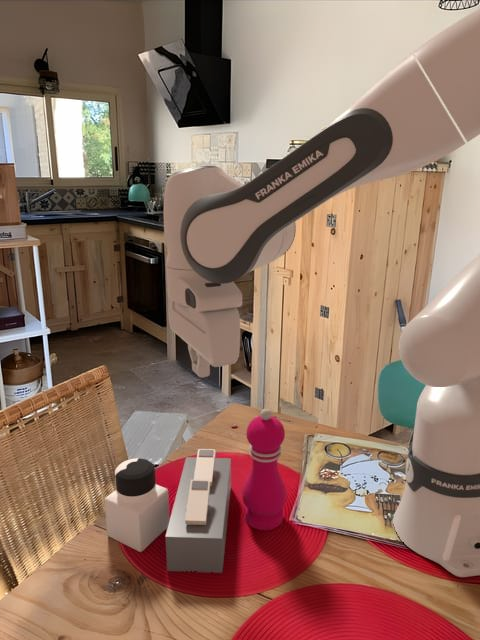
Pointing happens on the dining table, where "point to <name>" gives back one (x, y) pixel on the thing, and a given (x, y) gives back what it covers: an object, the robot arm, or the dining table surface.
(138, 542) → the medicine bottle
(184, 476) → the breaker panel
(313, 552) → the dining table surface
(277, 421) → the pepper mill
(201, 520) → the paddle on
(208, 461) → the paddle
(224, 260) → the robot arm
